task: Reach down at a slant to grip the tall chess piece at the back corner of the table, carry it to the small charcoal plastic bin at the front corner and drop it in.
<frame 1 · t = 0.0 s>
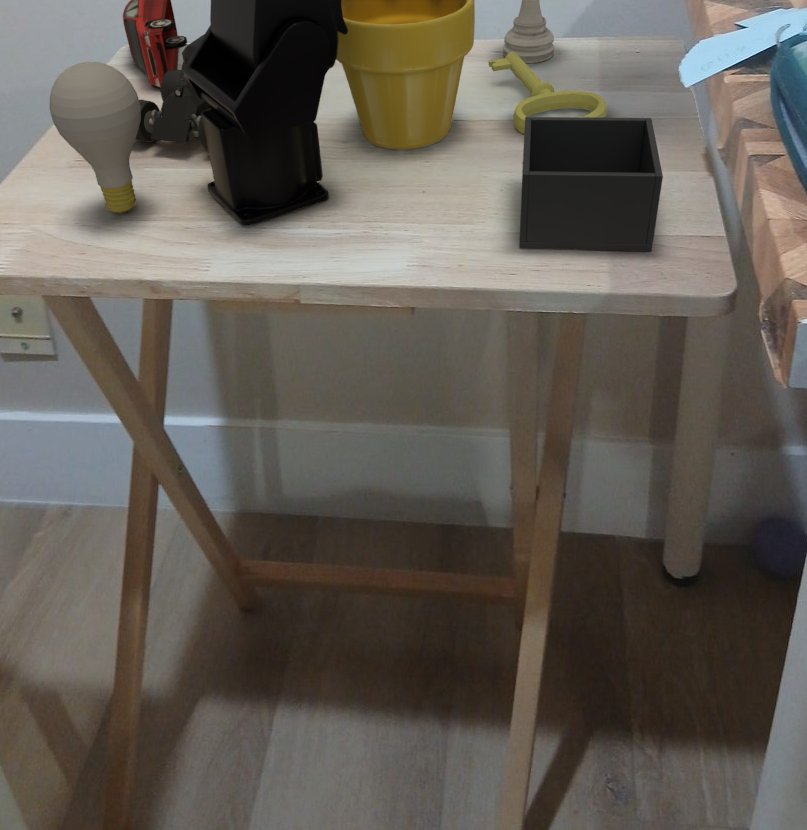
toy car: (184, 30, 83), point 2 cm above the table
chess piece: (528, 56, 82), on the table
light bulb: (124, 214, 63), on the table
toy vehicle: (221, 116, 75), on the table
flower pot: (405, 134, 71), on the table
key: (540, 109, 73), on the table
bin: (583, 217, 60), on the table
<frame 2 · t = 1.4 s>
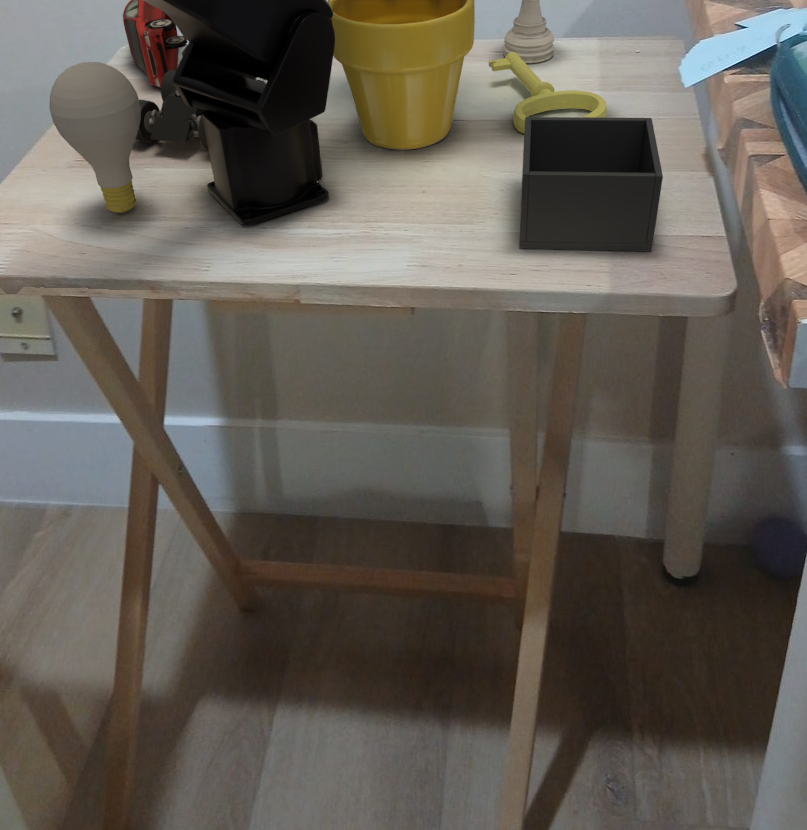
nothing on the table moved.
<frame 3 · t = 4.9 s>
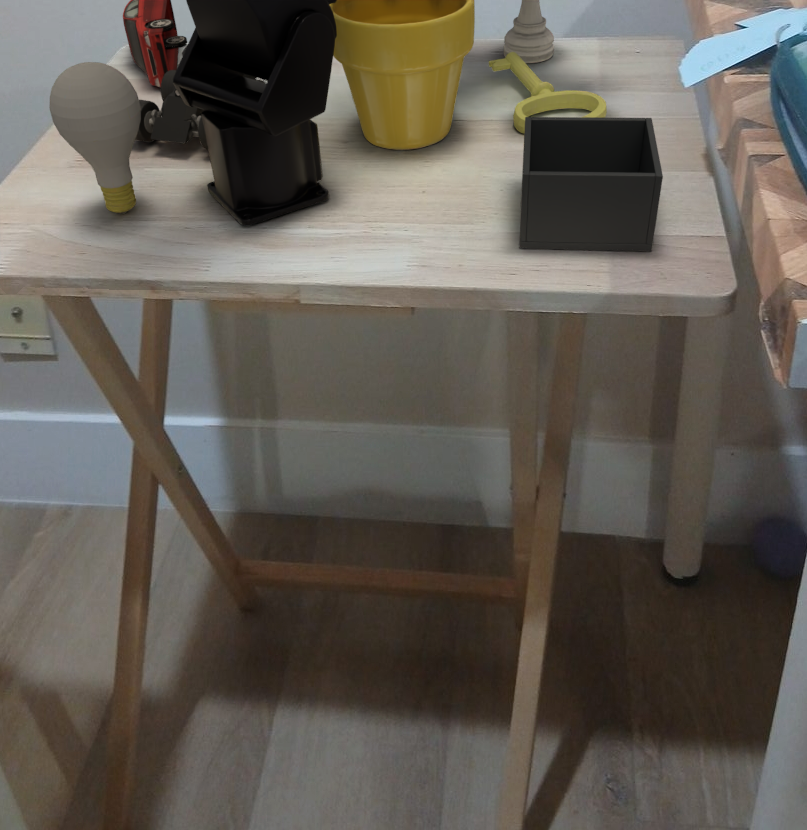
chess piece: (528, 56, 82), on the table, touching gripper
everything else where it was.
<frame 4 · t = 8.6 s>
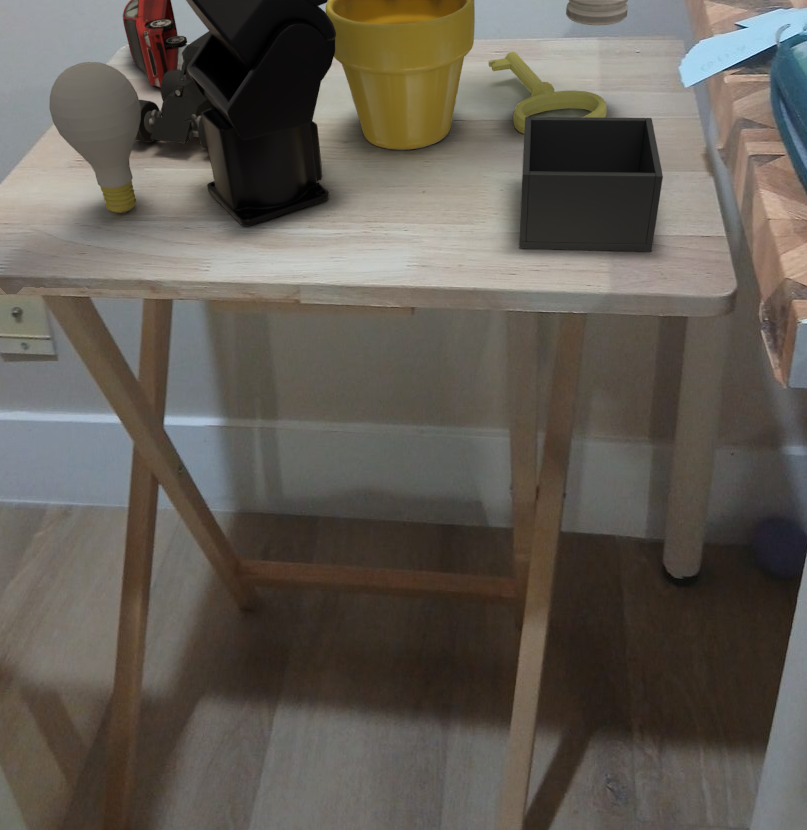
chess piece: (595, 18, 68), point 7 cm above the table, touching gripper
everything else where it was.
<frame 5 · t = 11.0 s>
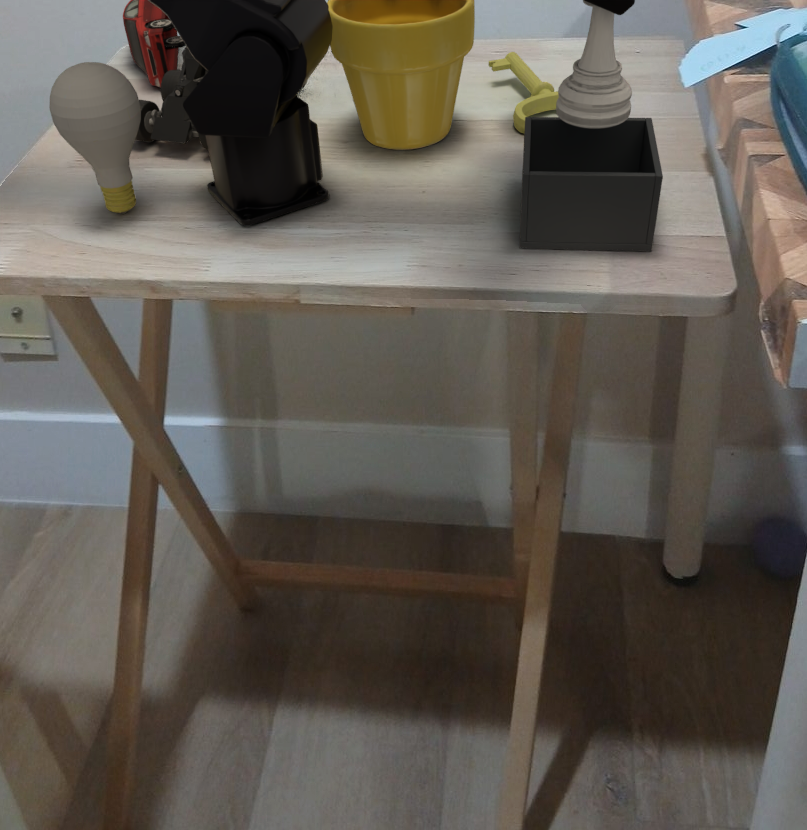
hand: (629, 0, 51), 13 cm above the table, tool tilted 45°, fingers closed on chess piece, 2 cm apart
chess piece: (592, 117, 56), point 7 cm above the table, touching gripper
everything else where it was.
when the fingers open (9 cm above the table, at t = 12.7 s): chess piece drops 2 cm, resting on bin.
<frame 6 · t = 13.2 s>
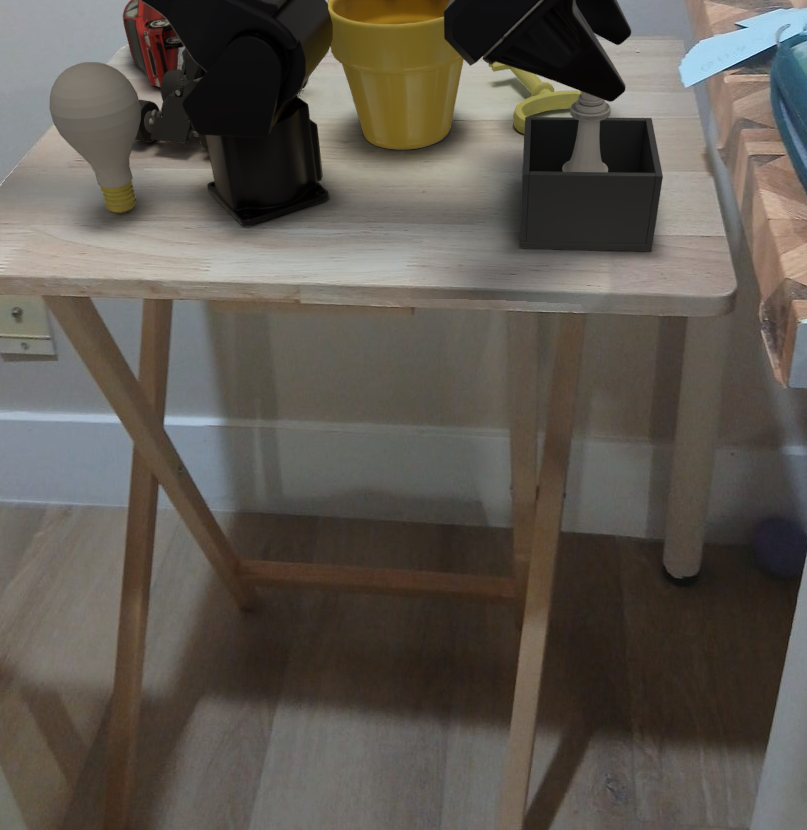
hand: (622, 65, 53), 10 cm above the table, tool tilted 45°, fingers open, 8 cm apart
chess piece: (581, 213, 60), resting on bin
everything else where it was.
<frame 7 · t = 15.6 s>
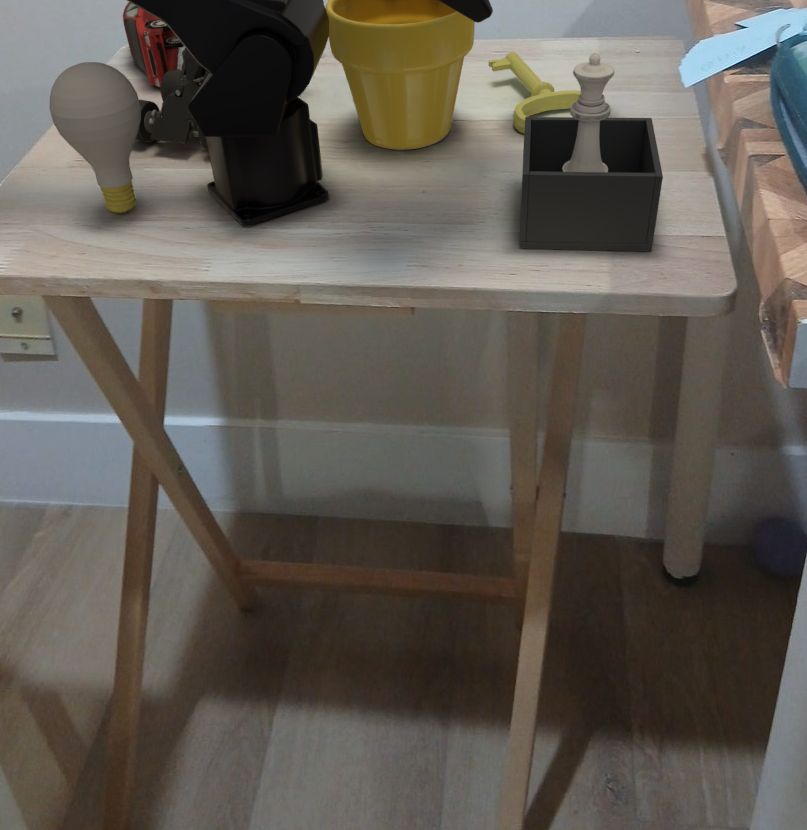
nothing on the table moved.
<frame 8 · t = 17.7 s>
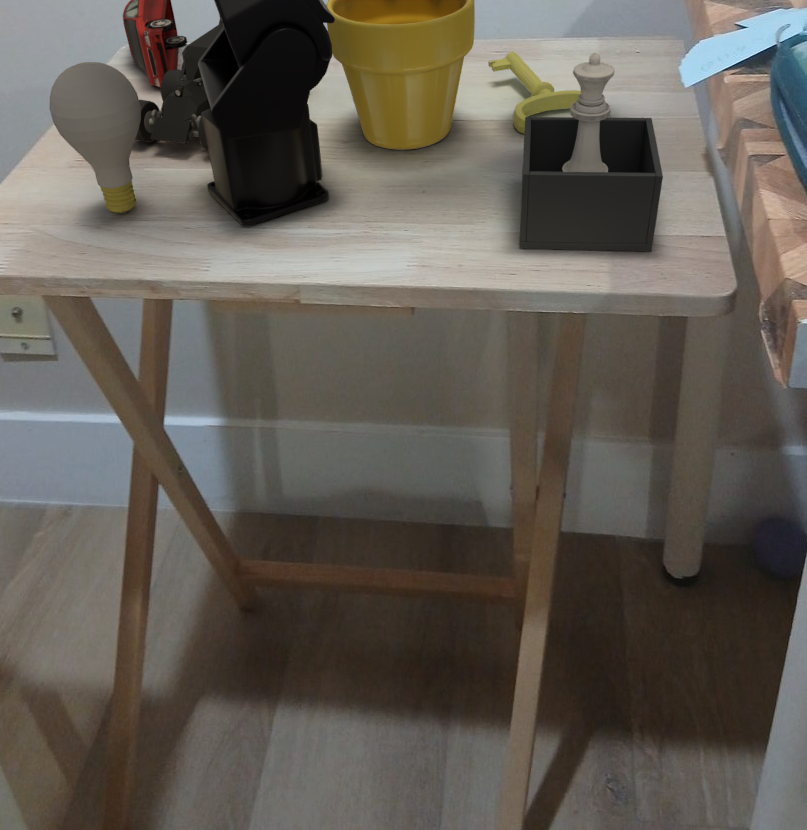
nothing on the table moved.
at the end: chess piece 0.1 cm off-centre in the bin, point 0.3 cm above the bin's base; the gripper is holding nothing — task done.
